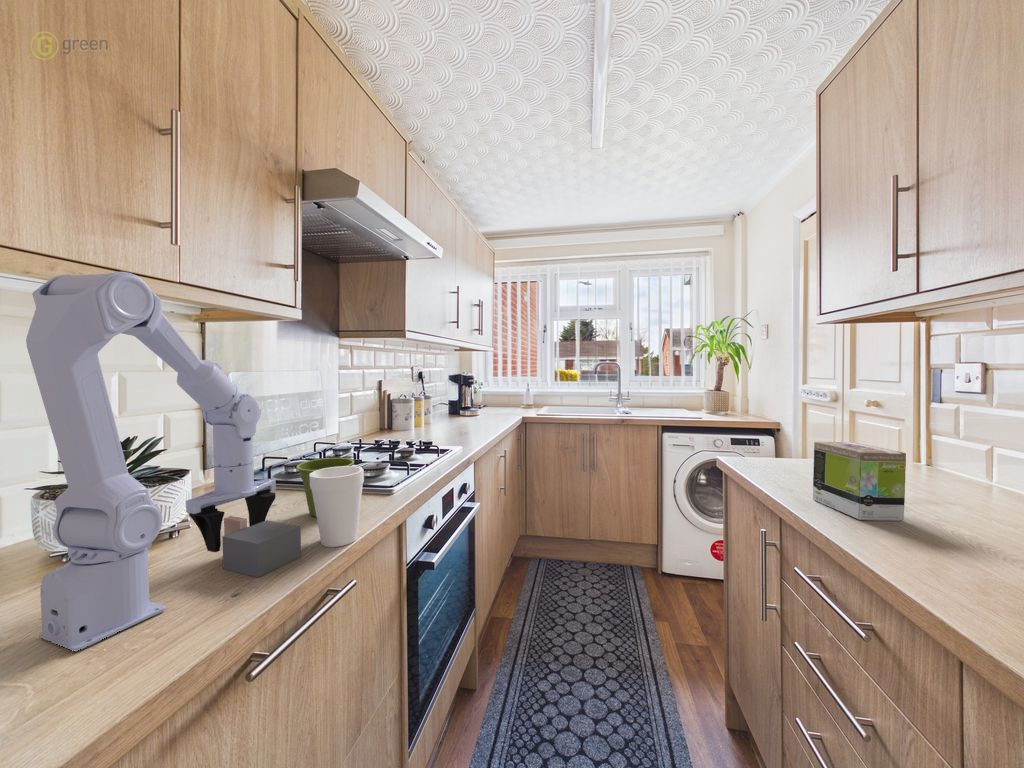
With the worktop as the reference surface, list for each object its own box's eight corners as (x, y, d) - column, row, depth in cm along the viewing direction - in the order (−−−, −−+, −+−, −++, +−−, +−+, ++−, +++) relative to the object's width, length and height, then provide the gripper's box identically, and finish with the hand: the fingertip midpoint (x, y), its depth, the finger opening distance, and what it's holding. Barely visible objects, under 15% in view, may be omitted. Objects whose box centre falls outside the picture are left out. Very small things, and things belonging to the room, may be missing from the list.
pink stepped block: (260, 562, 69) (260, 529, 69) (216, 552, 73) (215, 520, 73) (282, 552, 73) (281, 521, 73) (239, 543, 77) (238, 513, 77)
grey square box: (258, 577, 67) (257, 543, 67) (223, 568, 70) (222, 536, 70) (301, 556, 74) (300, 526, 74) (267, 549, 77) (266, 520, 77)
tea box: (906, 521, 91) (908, 452, 91) (858, 521, 92) (860, 452, 91) (852, 500, 106) (853, 440, 106) (810, 499, 107) (812, 440, 106)
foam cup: (307, 553, 76) (304, 480, 75) (316, 533, 85) (314, 468, 84) (364, 546, 78) (361, 475, 78) (367, 528, 87) (365, 464, 87)
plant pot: (292, 511, 98) (291, 462, 97) (346, 501, 105) (345, 455, 105) (304, 526, 88) (303, 472, 88) (362, 514, 96) (361, 464, 95)
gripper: (206, 475, 66) (208, 563, 66) (287, 457, 79) (288, 530, 80) (176, 471, 68) (178, 556, 69) (259, 454, 82) (261, 525, 82)
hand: (235, 542), depth 74 cm, fingers open, 7 cm apart
